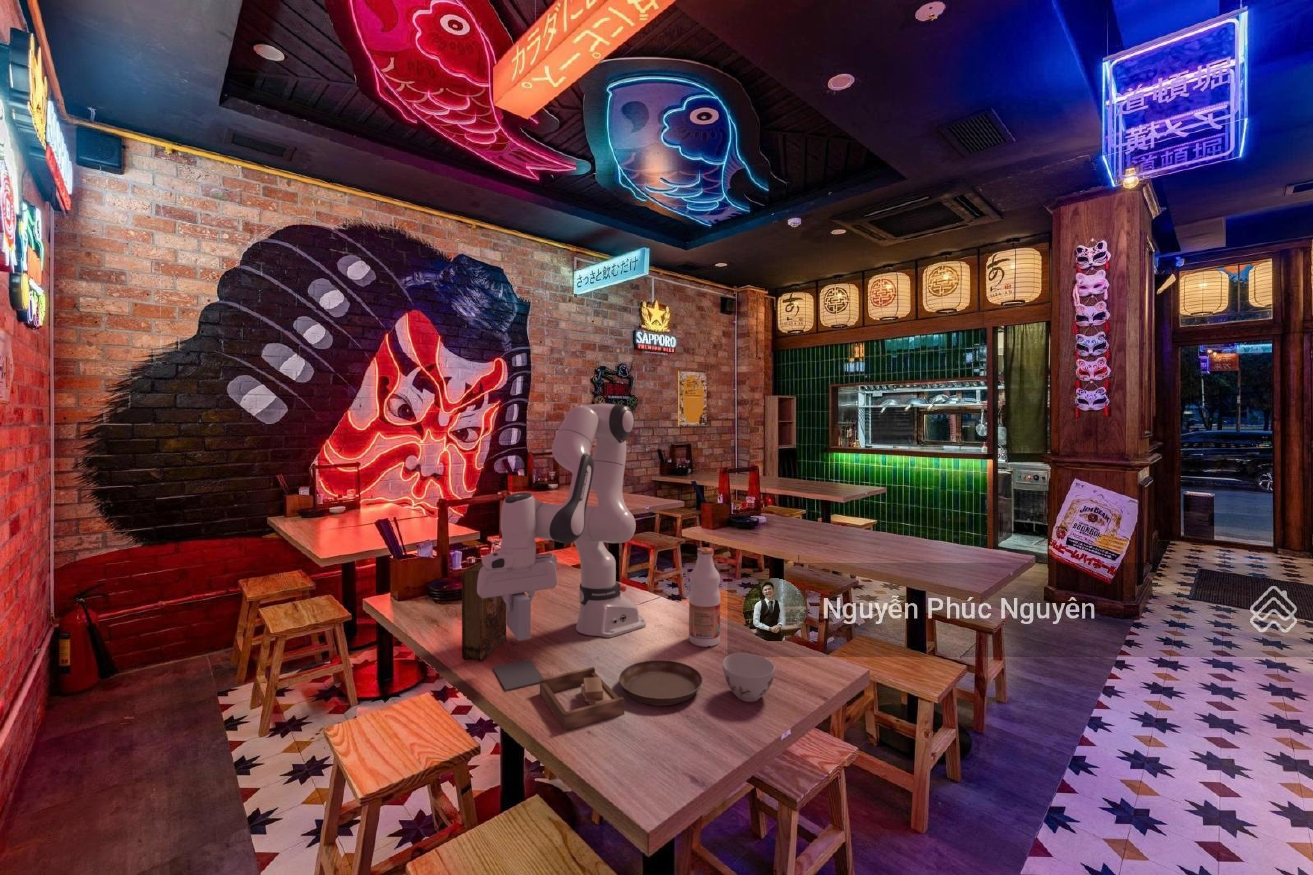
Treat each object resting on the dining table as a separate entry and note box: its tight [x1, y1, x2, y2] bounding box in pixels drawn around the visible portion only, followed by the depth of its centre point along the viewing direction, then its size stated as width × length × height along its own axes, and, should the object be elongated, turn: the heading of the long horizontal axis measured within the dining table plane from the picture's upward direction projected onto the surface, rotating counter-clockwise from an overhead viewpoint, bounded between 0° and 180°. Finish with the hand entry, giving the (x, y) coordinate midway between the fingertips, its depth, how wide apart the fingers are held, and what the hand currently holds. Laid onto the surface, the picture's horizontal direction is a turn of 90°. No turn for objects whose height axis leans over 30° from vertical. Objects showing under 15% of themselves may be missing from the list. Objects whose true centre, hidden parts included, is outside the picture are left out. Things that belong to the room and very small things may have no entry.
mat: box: [492, 658, 545, 692], centre depth 141 cm, size 10×14×1 cm
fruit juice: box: [688, 546, 721, 648], centre depth 163 cm, size 9×9×28 cm
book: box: [461, 560, 507, 662], centre depth 156 cm, size 16×6×25 cm, turn 168°
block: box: [506, 592, 532, 642], centre depth 140 cm, size 3×12×10 cm, turn 29°
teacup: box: [722, 652, 776, 703], centre depth 131 cm, size 15×12×8 cm
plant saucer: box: [618, 659, 704, 707], centre depth 134 cm, size 21×21×3 cm
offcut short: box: [584, 676, 603, 702], centre depth 128 cm, size 4×7×2 cm, turn 11°
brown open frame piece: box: [539, 666, 625, 732], centre depth 127 cm, size 14×18×4 cm
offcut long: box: [580, 684, 612, 706], centre depth 128 cm, size 4×10×2 cm, turn 28°
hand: (518, 609), depth 140 cm, fingers closed on block, 3 cm apart
